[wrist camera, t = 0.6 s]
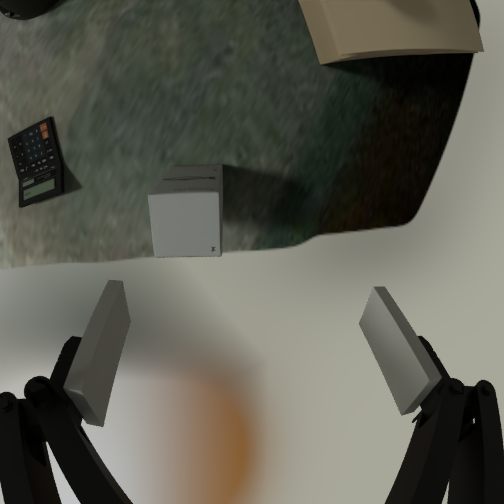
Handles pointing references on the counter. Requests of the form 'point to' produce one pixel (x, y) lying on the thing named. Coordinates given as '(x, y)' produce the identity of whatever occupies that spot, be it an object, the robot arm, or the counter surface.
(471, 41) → the flap
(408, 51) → the carton
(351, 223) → the counter surface
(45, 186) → the calculator
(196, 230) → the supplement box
